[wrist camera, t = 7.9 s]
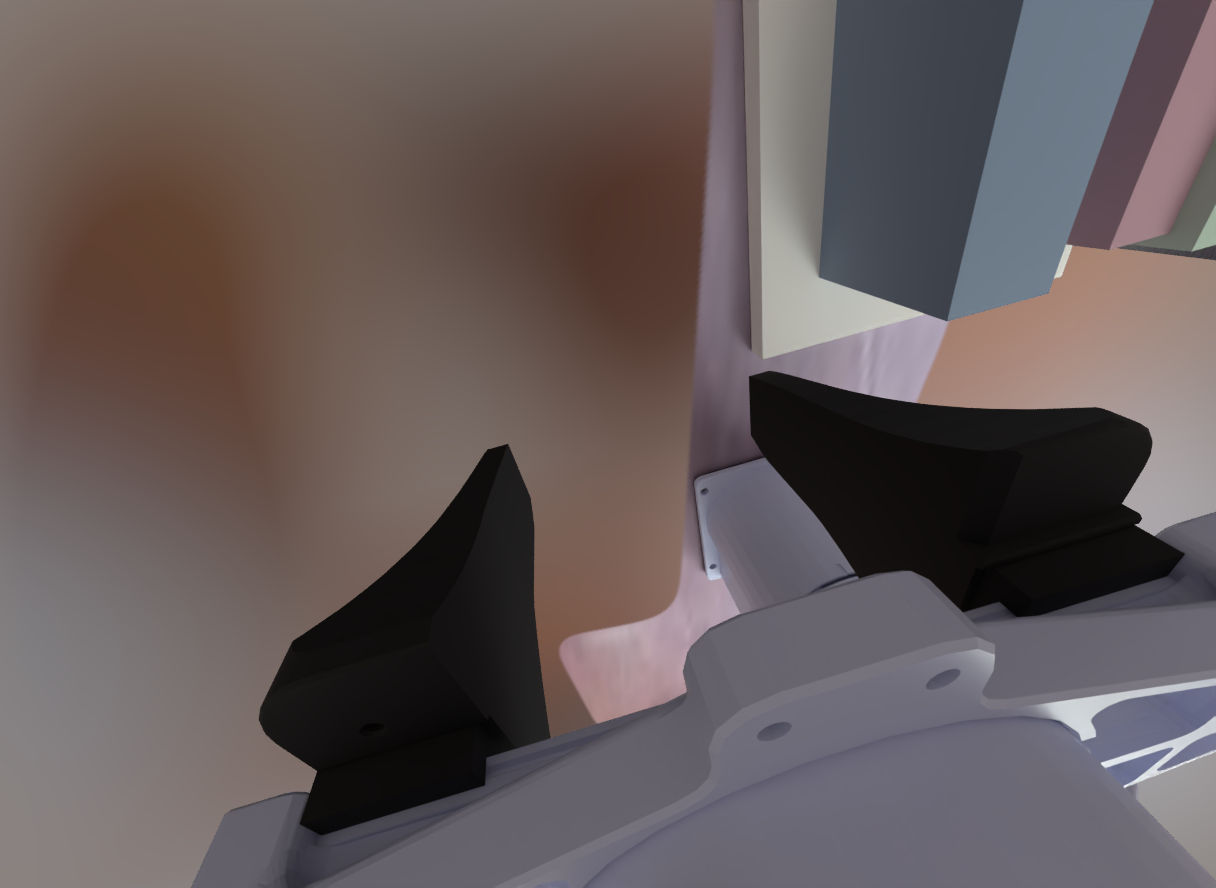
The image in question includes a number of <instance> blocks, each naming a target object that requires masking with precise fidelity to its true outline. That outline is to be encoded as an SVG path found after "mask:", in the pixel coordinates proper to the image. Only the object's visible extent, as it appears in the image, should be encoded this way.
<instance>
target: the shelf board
mask: <svg viewBox="0 0 1216 888" xmlns="http://www.w3.org/2000/svg"><path fill="white" fill-rule="evenodd" d="M836 5H837V0H743V34H744V72H745V111H746V150H747V189H748V227H749V266H750V305H751V344H752V352H753V353H755V354H756V355H757V356H759V357H760V358H761V359H767V358H770V357H774V356H778V355H781V354H785V353H788V352H792V351H795V350H799V349H803V348H806V347H810V346H813V345H817V344H821V343H824V342H828V341H831V340H835V339H839V338H842V337H846V336H849V335H853V334H856V333H860V332H864V331H867V330H871V329H874V328H878V327H882V326H885V325H889V324H892V323H896V322H900V321H903V320H907V319H910V318H914V317H917V316H921V315H925V314H924V313H921V312H918V311H916V310H913V309H910V308H907V307H904V306H901V305H898V304H895V303H892V302H889V301H886V300H883V299H880V298H877V297H874V296H871V295H869V294H866V293H863V292H860V291H857V290H854V289H851V288H848V287H845V286H842V285H839V284H836V283H833V282H830V281H827V280H824V279H822V278H819V268H820V253H821V238H822V222H823V207H824V191H825V176H826V160H827V145H828V129H829V114H830V98H831V83H832V67H833V52H834V36H835V21H836ZM1072 246H1073V245H1066V246H1065V249H1064V252H1063V254H1062V257H1061V260H1060V263H1059V265H1058V268H1057V271H1056V274H1055V277H1054V278H1057V277H1061V276H1062V273H1063V270H1064V268H1065V265H1066V262H1067V260H1068V257H1069V254H1070V251H1071V249H1072Z"/></svg>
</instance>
